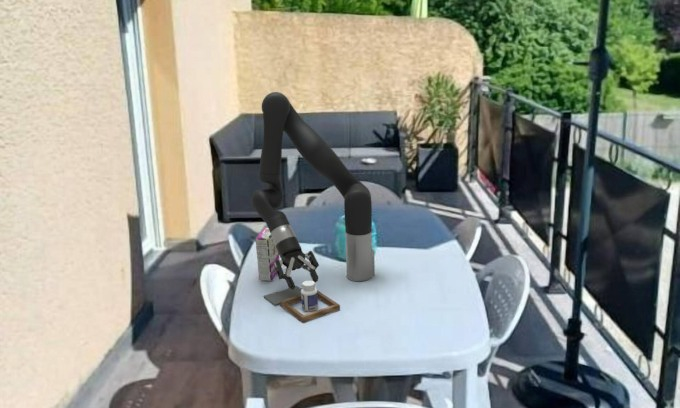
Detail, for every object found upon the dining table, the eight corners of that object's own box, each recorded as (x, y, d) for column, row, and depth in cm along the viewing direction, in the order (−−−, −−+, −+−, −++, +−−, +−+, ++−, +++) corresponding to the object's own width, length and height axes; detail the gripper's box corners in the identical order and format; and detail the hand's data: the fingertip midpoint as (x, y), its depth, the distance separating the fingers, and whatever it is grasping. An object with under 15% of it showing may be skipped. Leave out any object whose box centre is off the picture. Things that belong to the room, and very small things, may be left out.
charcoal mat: (296, 287, 224) (296, 285, 223) (308, 295, 217) (308, 293, 217) (263, 297, 217) (263, 295, 217) (274, 306, 210) (274, 304, 210)
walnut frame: (316, 294, 218) (316, 289, 217) (340, 309, 207) (339, 304, 206) (280, 306, 210) (280, 301, 210) (302, 322, 199) (302, 317, 199)
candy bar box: (267, 268, 240) (264, 227, 235) (280, 269, 239) (277, 227, 234) (258, 281, 229) (254, 238, 224) (271, 282, 228) (268, 238, 223)
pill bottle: (320, 305, 210) (319, 280, 207) (314, 312, 205) (313, 287, 203) (305, 303, 212) (304, 278, 209) (299, 310, 207) (297, 285, 204)
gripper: (270, 241, 207) (289, 286, 201) (308, 231, 214) (327, 274, 209) (263, 251, 213) (282, 295, 207) (300, 241, 220) (319, 284, 215)
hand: (305, 285), depth 208 cm, fingers open, 8 cm apart
